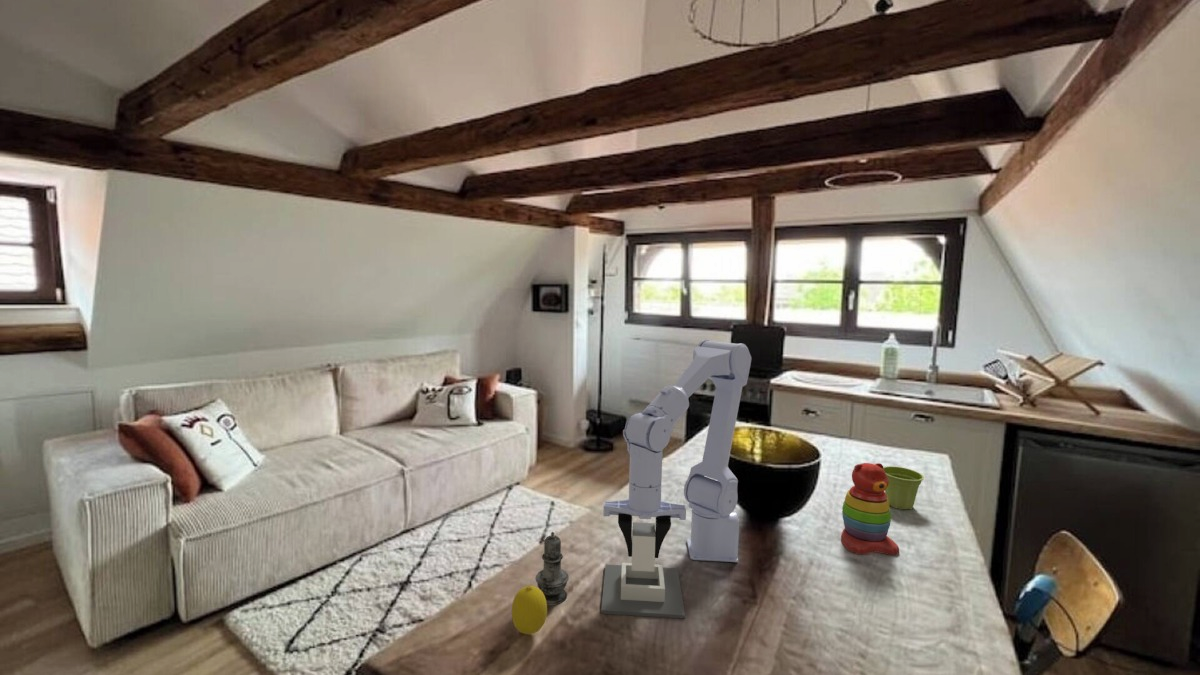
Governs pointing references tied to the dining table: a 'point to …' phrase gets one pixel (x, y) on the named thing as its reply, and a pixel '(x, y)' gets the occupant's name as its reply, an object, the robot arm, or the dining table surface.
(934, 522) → the dining table surface
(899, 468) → the plant pot
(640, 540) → the plug
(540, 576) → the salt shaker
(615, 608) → the socket base
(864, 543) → the stacking bear
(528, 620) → the lemon
